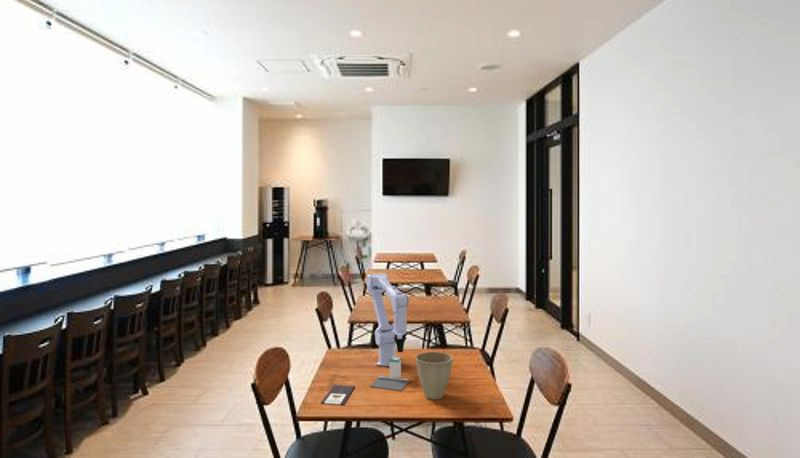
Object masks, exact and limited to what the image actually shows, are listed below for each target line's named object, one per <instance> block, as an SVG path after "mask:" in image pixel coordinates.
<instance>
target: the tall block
mask: <svg viewBox="0 0 800 458" xmlns="http://www.w3.org/2000/svg"><path fill="white" fill-rule="evenodd" d="M389 362H390V366H389V377H396V378H401V377H402V357H401V356H396V357H394V356H392V357H391V358H390V359H389Z"/></svg>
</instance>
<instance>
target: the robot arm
mask: <svg viewBox="0 0 800 458" xmlns="http://www.w3.org/2000/svg"><path fill="white" fill-rule="evenodd" d="M365 281H366V282H365V283H366V288H367V292H368V293H369V294H371V298H372V302H373V307H374V313H375V316H376V320H377V323H378V325H377V326H378V327H377V328H376V329H375V331H374V340H375V344H376V345H377V346H378V362H377V363H376V364H375V365H376V366H383V367H390V362H389V359H390V358H391V357H392V356H394V357H397V355H396V354H397V353H403V352H404V346H405V342H406V340H407V336H408V335H407V334H408V331H407V329H408V328H407V307H408V306H409V302H410V301H409V297H408V295H407V293H402V292H401V291H400V290H399V289H398V288H397V286H396V285H392V284H391V283H390V282H389V277H388V274H387V273H385V272H384V273H376V274H367V276H366V280H365ZM384 292H385V294H386V297H388V299H389V300H390V301H391V302H390V303H391V306H392V312H393V325H392V324H390V323H389V319H388V315H387V312H386V307H385V302H384V298H383V295H382V294H383V293H384Z"/></svg>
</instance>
